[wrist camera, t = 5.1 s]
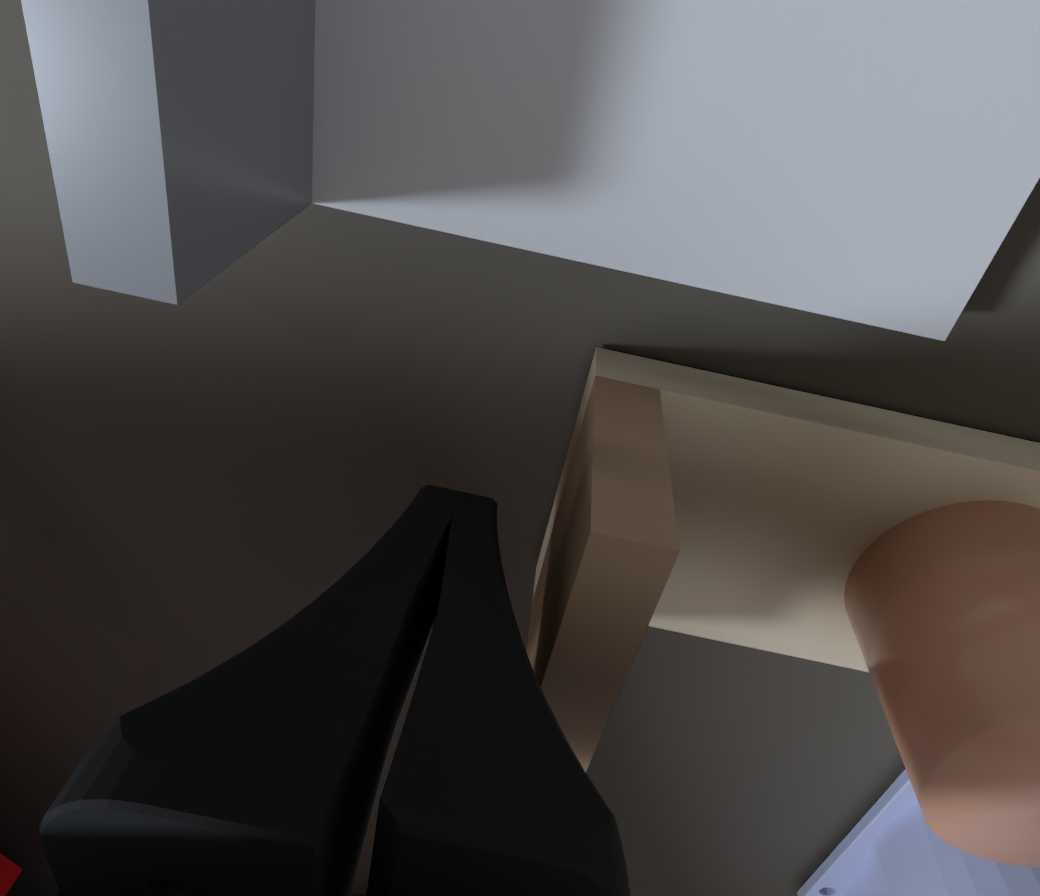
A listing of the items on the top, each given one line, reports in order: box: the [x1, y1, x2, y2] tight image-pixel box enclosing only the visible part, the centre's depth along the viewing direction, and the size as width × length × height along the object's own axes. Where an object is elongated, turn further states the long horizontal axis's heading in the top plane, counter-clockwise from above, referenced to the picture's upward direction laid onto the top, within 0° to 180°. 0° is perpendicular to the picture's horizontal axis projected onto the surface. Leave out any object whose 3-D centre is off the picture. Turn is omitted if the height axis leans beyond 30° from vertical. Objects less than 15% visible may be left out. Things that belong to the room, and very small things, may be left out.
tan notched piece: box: [526, 347, 1040, 772], centre depth 13 cm, size 6×12×6 cm, turn 79°
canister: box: [844, 500, 1040, 867], centre depth 13 cm, size 4×4×4 cm
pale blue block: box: [21, 0, 1040, 341], centre depth 9 cm, size 6×12×6 cm, turn 79°
